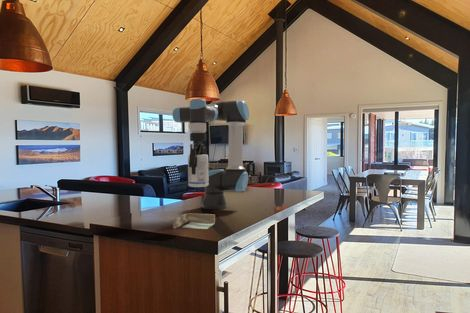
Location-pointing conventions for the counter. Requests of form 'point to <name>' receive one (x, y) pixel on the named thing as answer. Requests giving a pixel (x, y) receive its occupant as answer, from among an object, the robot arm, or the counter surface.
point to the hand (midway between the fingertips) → (198, 180)
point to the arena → (195, 221)
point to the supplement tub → (200, 172)
